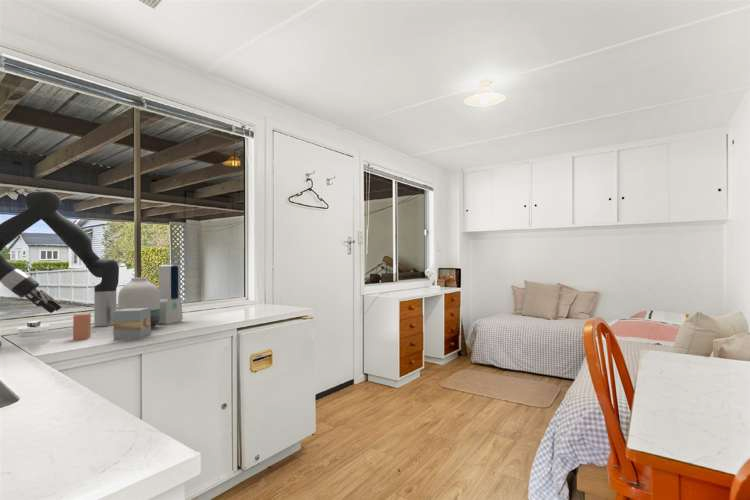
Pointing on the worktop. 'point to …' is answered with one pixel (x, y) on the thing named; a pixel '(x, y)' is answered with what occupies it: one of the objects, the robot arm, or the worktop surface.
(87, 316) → the pillar
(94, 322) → the robot arm
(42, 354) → the worktop surface
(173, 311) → the electronic device
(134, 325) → the tower slab middle
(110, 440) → the worktop surface
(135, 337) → the tower slab bottom
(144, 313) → the tower slab top
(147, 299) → the vase
